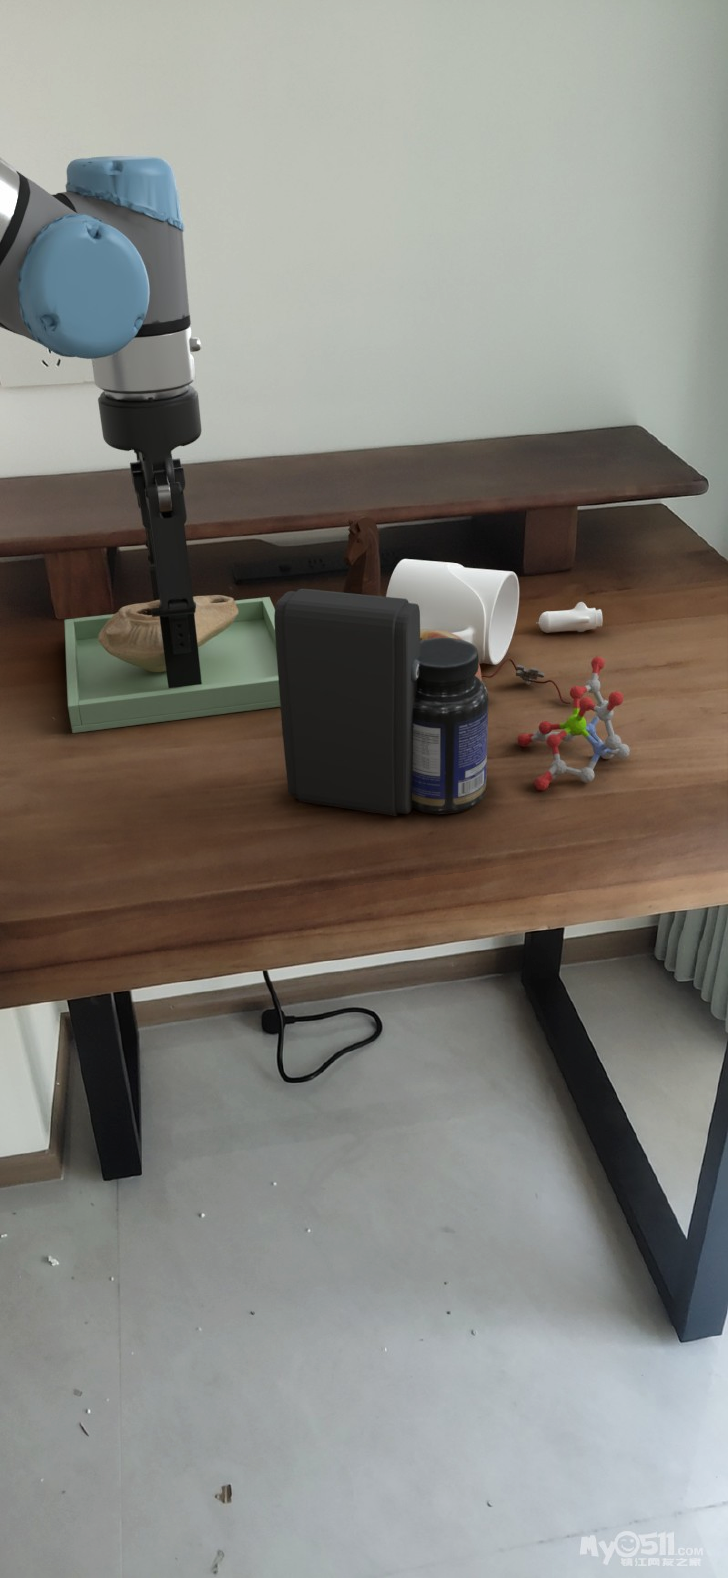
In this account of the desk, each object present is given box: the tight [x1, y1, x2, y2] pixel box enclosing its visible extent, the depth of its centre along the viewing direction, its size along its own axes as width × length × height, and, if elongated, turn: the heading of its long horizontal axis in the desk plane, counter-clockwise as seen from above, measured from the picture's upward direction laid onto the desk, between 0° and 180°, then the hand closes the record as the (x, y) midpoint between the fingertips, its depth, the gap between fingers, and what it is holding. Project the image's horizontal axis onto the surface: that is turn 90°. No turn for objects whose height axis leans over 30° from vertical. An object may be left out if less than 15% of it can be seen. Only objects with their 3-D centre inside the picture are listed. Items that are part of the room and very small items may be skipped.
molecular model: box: [517, 656, 631, 791], centre depth 84 cm, size 7×8×7 cm
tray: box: [64, 596, 281, 734], centre depth 101 cm, size 19×18×2 cm
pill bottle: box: [412, 638, 489, 815], centre depth 80 cm, size 6×6×11 cm
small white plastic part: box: [537, 601, 603, 634], centre depth 106 cm, size 4×6×3 cm, turn 66°
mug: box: [385, 558, 520, 666], centre depth 99 cm, size 12×9×8 cm
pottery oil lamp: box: [99, 594, 238, 672], centre depth 100 cm, size 9×12×7 cm
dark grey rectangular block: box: [274, 588, 420, 817], centre depth 79 cm, size 9×4×15 cm, turn 72°
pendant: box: [481, 658, 571, 705], centre depth 96 cm, size 8×4×3 cm
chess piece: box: [342, 515, 383, 597], centre depth 107 cm, size 5×5×10 cm
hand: (179, 659), depth 101 cm, fingers closed on pottery oil lamp, 9 cm apart
